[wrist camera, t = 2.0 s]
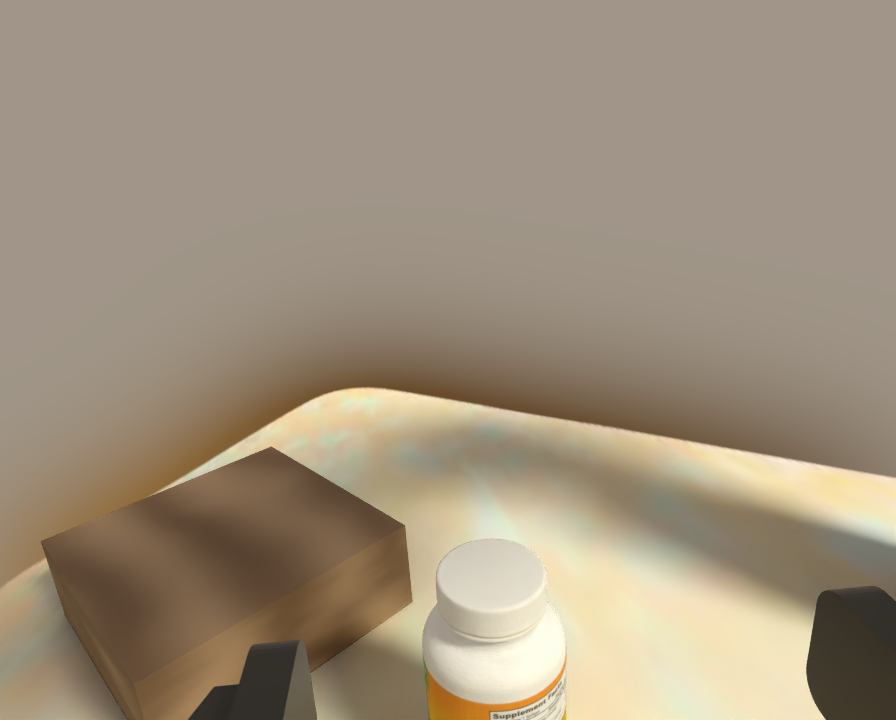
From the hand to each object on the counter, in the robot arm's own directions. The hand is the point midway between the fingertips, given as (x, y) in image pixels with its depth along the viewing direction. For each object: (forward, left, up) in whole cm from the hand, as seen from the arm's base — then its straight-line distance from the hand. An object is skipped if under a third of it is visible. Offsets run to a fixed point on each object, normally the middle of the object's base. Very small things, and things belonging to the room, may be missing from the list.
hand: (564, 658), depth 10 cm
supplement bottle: (-7, -9, -17) cm, 21 cm away
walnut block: (-4, -26, -17) cm, 31 cm away
